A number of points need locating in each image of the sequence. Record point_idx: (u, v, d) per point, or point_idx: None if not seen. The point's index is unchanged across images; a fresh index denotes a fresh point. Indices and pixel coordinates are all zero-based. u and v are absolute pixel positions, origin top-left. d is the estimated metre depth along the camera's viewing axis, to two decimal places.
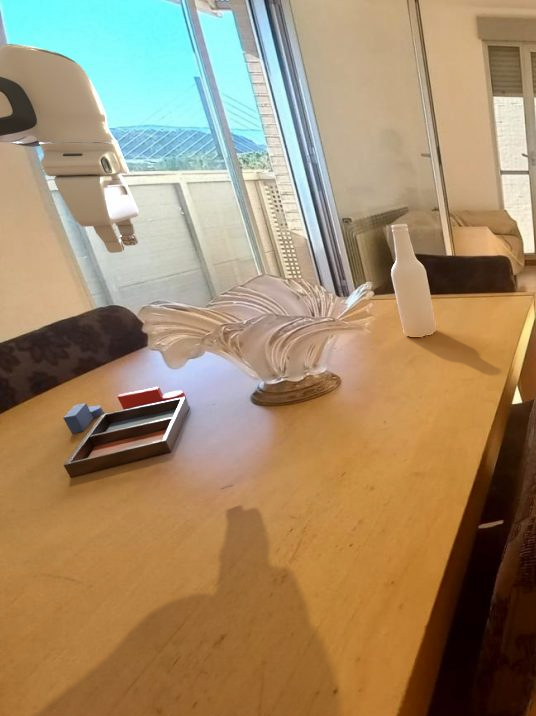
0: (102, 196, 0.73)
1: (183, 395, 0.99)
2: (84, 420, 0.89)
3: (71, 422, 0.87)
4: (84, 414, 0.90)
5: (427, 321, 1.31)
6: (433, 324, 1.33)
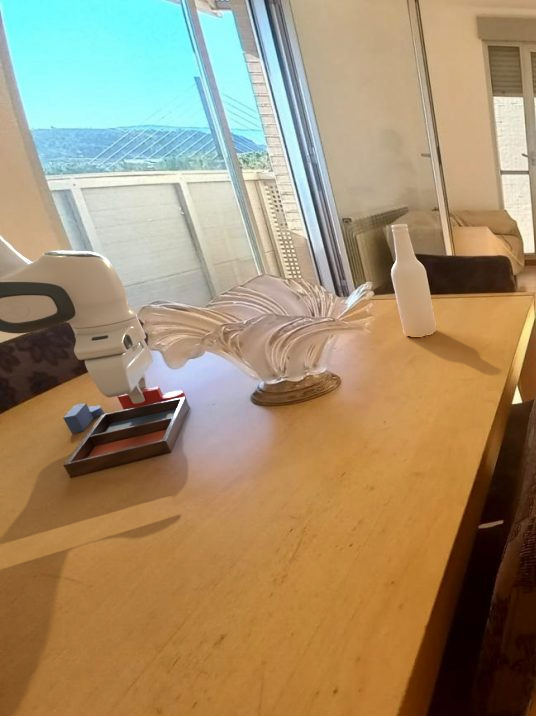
0: (124, 372, 0.86)
1: (183, 395, 0.99)
2: (84, 420, 0.89)
3: (71, 422, 0.87)
4: (84, 414, 0.90)
5: (427, 321, 1.31)
6: (433, 324, 1.33)
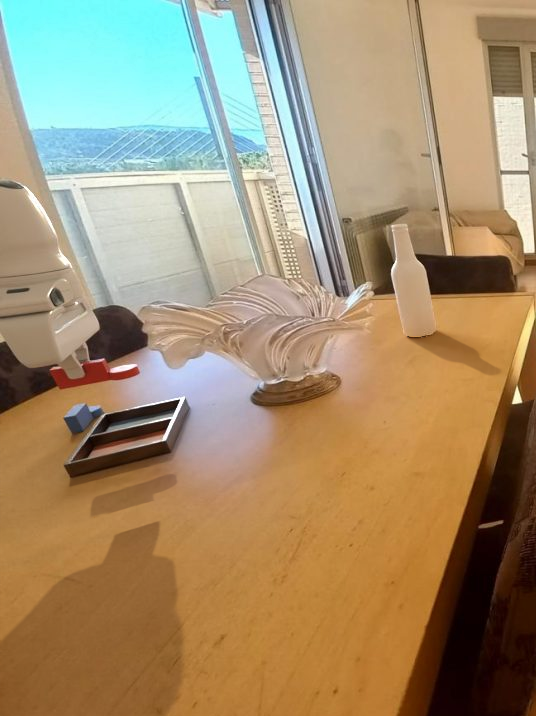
0: (51, 335, 0.67)
1: (136, 370, 0.80)
2: (84, 420, 0.89)
3: (71, 422, 0.87)
4: (84, 414, 0.90)
5: (427, 321, 1.31)
6: (433, 324, 1.33)
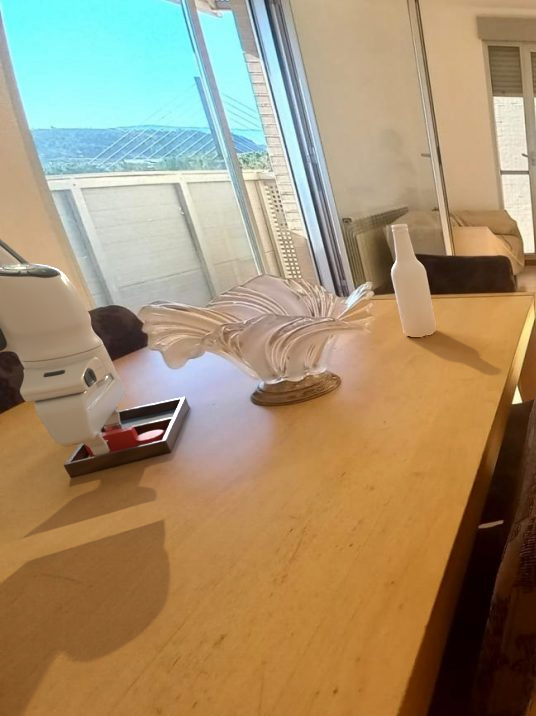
0: (85, 415, 0.70)
1: (163, 436, 0.83)
2: None
3: None
4: None
5: (427, 321, 1.31)
6: (433, 324, 1.33)
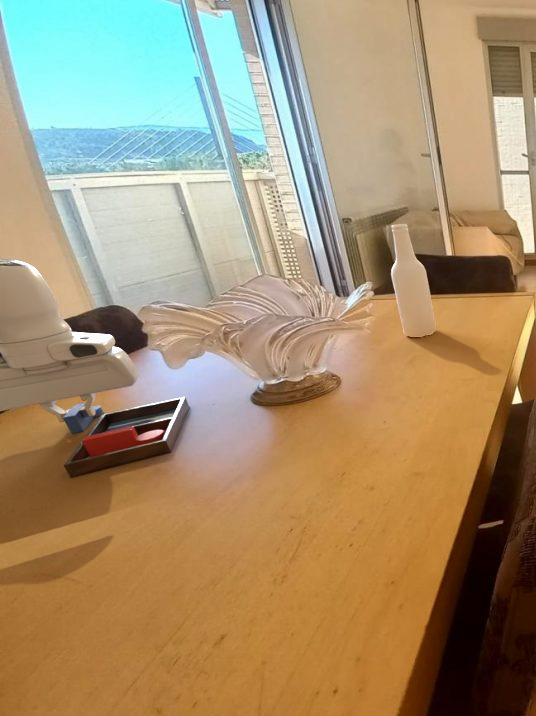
0: (129, 359, 0.92)
1: (163, 436, 0.83)
2: (84, 420, 0.89)
3: (71, 422, 0.87)
4: None
5: (427, 321, 1.31)
6: (433, 324, 1.33)
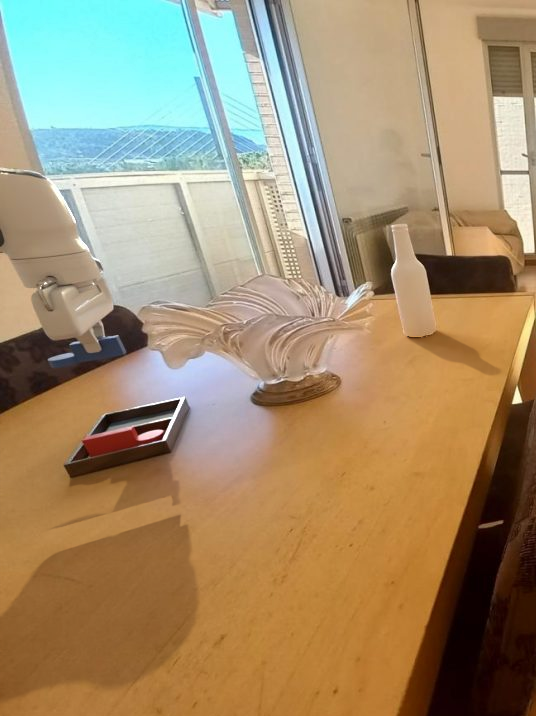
0: None
1: (163, 436, 0.83)
2: None
3: (120, 342, 0.85)
4: None
5: (427, 321, 1.31)
6: (433, 324, 1.33)
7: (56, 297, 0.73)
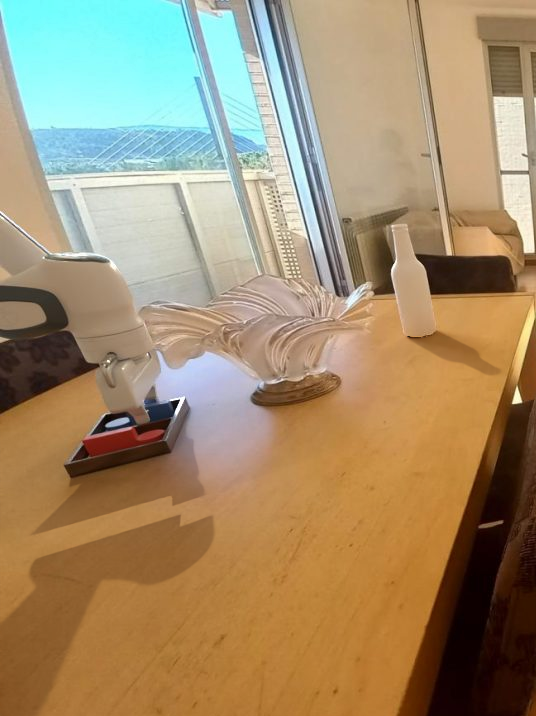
0: None
1: (163, 436, 0.83)
2: None
3: (171, 406, 0.90)
4: None
5: (427, 321, 1.31)
6: (433, 324, 1.33)
7: (118, 374, 0.78)
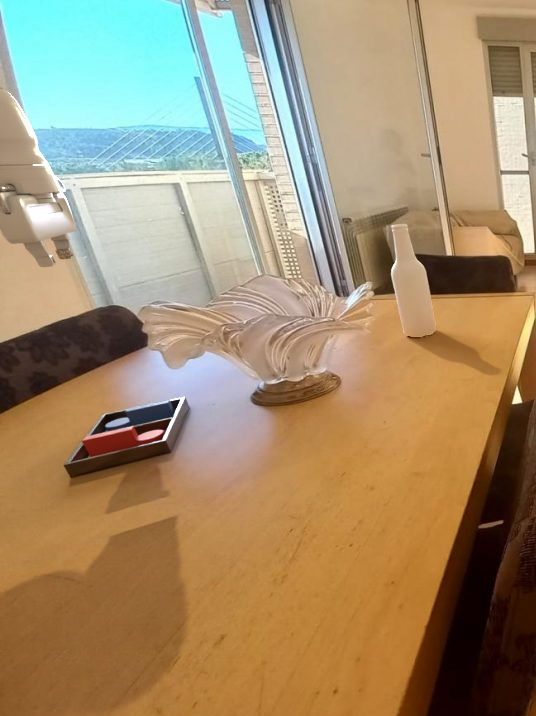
0: None
1: (163, 436, 0.83)
2: None
3: (171, 406, 0.90)
4: None
5: (427, 321, 1.31)
6: (433, 324, 1.33)
7: (13, 201, 0.78)
